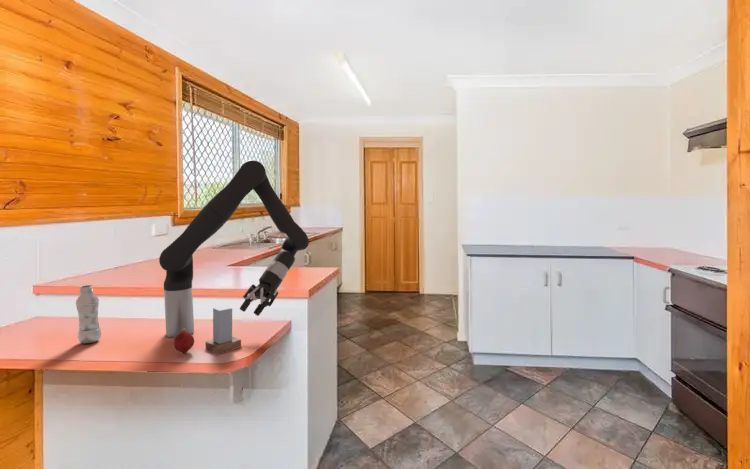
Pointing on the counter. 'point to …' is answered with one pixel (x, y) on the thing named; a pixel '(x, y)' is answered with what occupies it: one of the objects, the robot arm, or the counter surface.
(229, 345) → the base slab
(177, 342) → the onion
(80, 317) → the plastic bottle
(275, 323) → the counter surface
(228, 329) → the pillar
